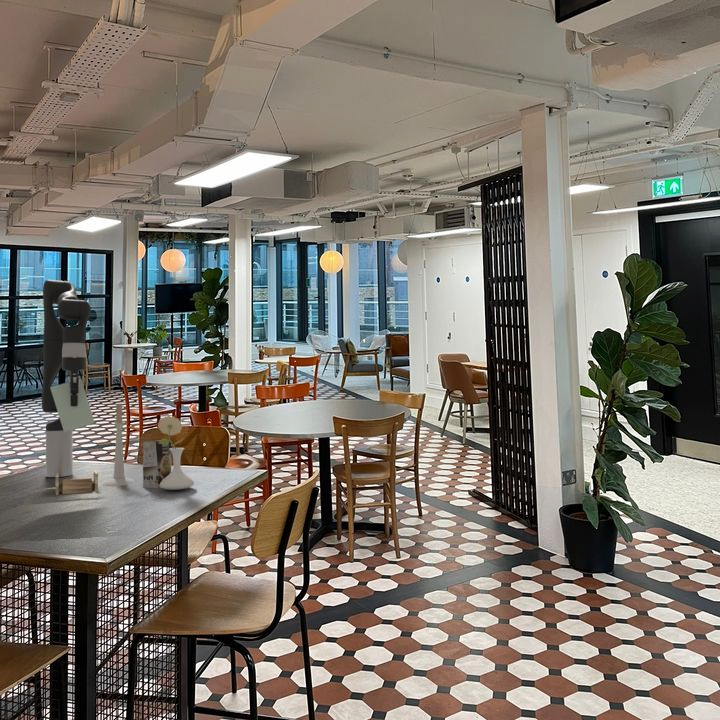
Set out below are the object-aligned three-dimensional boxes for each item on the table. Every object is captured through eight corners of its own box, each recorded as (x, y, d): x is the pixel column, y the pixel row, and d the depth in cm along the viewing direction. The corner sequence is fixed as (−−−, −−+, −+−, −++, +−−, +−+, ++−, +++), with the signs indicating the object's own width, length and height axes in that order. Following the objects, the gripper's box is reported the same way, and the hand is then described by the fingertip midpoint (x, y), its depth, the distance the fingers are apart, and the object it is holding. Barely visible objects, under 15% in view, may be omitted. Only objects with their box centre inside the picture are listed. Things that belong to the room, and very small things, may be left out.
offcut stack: (62, 492, 211) (62, 479, 212) (91, 490, 215) (91, 477, 216) (62, 494, 208) (62, 480, 208) (91, 492, 212) (91, 478, 212)
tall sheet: (63, 431, 216) (50, 387, 215) (94, 422, 221) (80, 379, 220) (64, 431, 214) (50, 387, 213) (94, 422, 218) (81, 378, 217)
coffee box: (159, 488, 216) (159, 441, 217) (142, 488, 217) (142, 441, 218) (172, 484, 225) (172, 439, 226) (156, 484, 226) (155, 439, 227)
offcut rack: (55, 490, 215) (55, 473, 215) (95, 487, 221) (95, 470, 221) (55, 494, 206) (55, 476, 206) (97, 491, 211) (97, 473, 212)
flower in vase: (200, 487, 216) (200, 414, 218) (182, 492, 205) (182, 415, 207) (167, 486, 220) (167, 415, 221) (148, 491, 209) (147, 416, 210)
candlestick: (145, 484, 227) (144, 401, 229) (112, 489, 217) (112, 402, 219) (124, 482, 235) (124, 402, 236) (92, 486, 224) (93, 402, 226)
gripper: (61, 357, 222) (61, 406, 221) (62, 355, 210) (62, 406, 209) (84, 358, 226) (84, 405, 225) (86, 355, 213) (86, 406, 212)
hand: (73, 406), depth 217 cm, fingers closed on tall sheet, 3 cm apart
